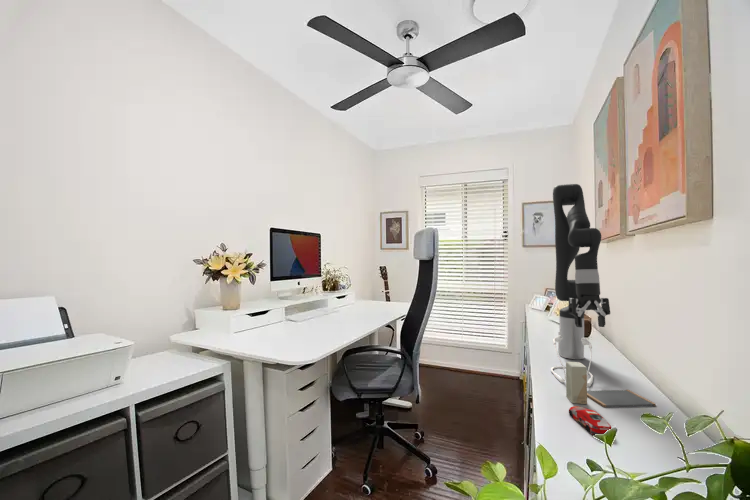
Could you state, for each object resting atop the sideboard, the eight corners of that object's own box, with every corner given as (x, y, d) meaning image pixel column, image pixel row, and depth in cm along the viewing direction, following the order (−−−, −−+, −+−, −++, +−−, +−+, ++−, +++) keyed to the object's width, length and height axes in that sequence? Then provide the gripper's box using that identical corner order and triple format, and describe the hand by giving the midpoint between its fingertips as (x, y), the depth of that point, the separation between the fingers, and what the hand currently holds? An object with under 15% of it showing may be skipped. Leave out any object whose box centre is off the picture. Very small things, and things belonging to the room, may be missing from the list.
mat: (580, 392, 108) (580, 390, 108) (628, 391, 109) (628, 389, 109) (603, 407, 98) (603, 405, 98) (655, 406, 99) (655, 403, 99)
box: (587, 404, 99) (587, 367, 99) (571, 403, 100) (571, 366, 100) (580, 397, 104) (580, 361, 104) (565, 395, 105) (565, 360, 105)
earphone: (553, 374, 114) (551, 331, 126) (551, 398, 123) (549, 356, 136) (600, 380, 108) (593, 335, 120) (594, 406, 118) (588, 361, 130)
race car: (565, 413, 95) (565, 399, 95) (585, 413, 95) (585, 399, 95) (593, 439, 82) (593, 422, 82) (616, 440, 81) (616, 423, 81)
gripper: (598, 282, 127) (601, 325, 125) (562, 282, 126) (565, 326, 124) (613, 282, 119) (617, 328, 118) (575, 282, 118) (578, 328, 117)
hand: (590, 327), depth 121 cm, fingers open, 8 cm apart
